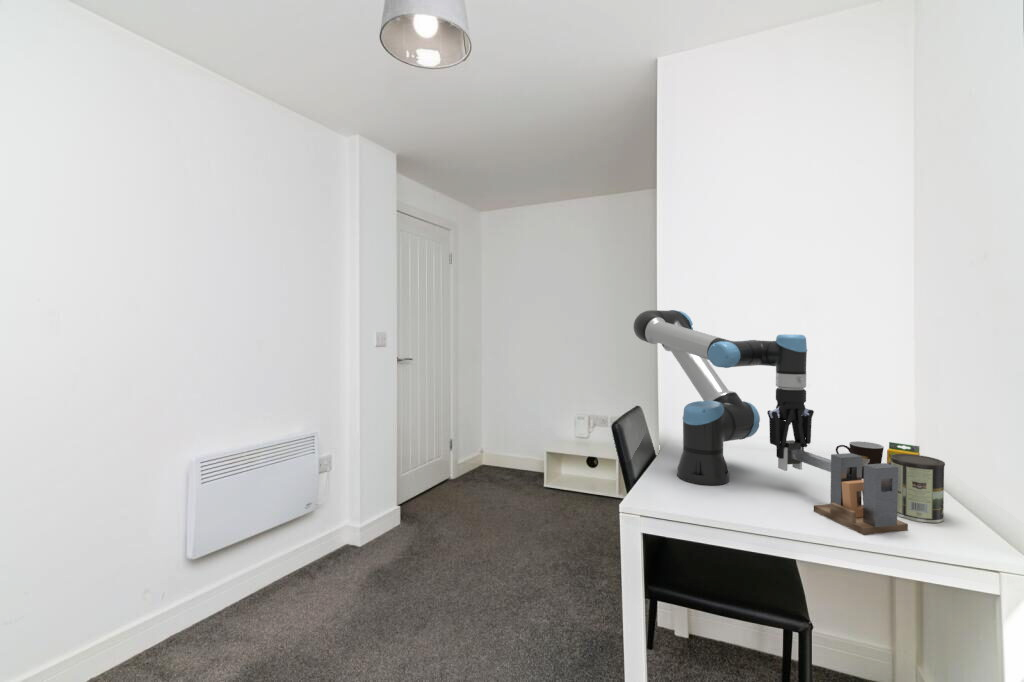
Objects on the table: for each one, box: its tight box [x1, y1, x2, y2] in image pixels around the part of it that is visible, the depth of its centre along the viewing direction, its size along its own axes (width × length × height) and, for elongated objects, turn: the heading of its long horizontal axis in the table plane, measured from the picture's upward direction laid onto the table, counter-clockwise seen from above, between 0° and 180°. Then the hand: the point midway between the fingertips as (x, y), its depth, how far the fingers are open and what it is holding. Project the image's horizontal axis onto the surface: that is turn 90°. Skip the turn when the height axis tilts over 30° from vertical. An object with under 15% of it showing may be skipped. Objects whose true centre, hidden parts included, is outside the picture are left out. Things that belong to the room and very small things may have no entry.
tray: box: [813, 503, 909, 536], centre depth 115 cm, size 14×12×4 cm
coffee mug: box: [835, 440, 885, 480], centre depth 149 cm, size 12×9×10 cm
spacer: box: [842, 479, 864, 517], centre depth 114 cm, size 2×8×8 cm, turn 103°
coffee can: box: [891, 454, 946, 524], centre depth 118 cm, size 10×10×14 cm
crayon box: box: [886, 441, 921, 465], centre depth 141 cm, size 7×3×12 cm, turn 43°
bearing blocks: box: [829, 452, 898, 527], centre depth 114 cm, size 12×6×14 cm, turn 11°
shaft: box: [785, 439, 850, 476], centre depth 128 cm, size 20×4×6 cm, turn 11°
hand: (789, 468), depth 136 cm, fingers closed on shaft, 4 cm apart
